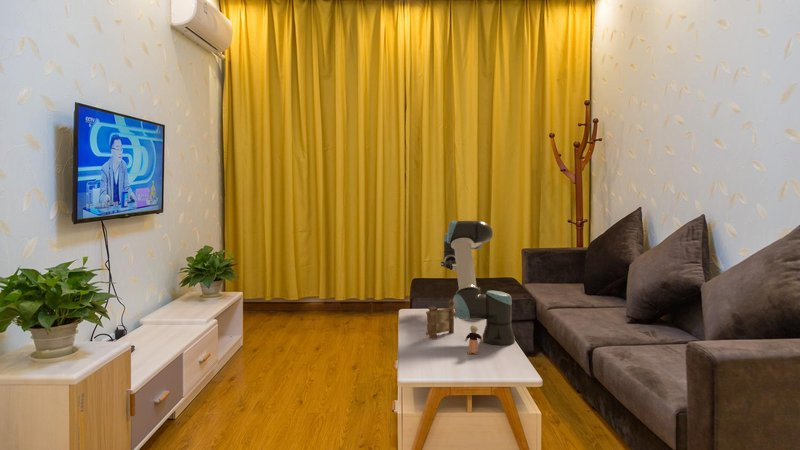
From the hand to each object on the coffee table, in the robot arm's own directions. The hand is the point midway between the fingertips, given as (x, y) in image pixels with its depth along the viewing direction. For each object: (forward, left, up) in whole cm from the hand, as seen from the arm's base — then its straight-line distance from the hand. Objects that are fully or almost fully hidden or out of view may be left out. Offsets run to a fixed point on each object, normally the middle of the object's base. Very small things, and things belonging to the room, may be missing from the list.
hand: (454, 268), depth 274 cm
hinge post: (-13, +11, -30) cm, 35 cm away
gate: (-14, +20, -29) cm, 37 cm away
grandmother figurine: (-45, +21, -30) cm, 58 cm away
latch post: (-17, +24, -30) cm, 42 cm away
